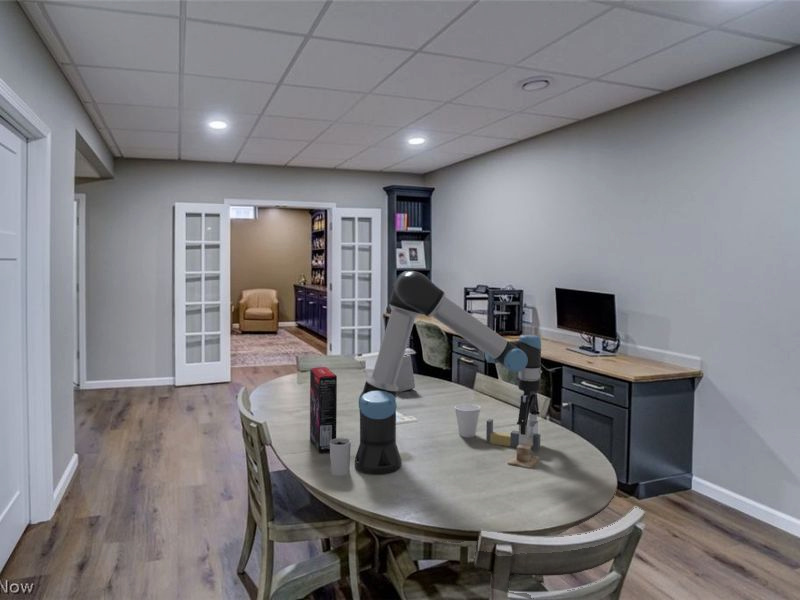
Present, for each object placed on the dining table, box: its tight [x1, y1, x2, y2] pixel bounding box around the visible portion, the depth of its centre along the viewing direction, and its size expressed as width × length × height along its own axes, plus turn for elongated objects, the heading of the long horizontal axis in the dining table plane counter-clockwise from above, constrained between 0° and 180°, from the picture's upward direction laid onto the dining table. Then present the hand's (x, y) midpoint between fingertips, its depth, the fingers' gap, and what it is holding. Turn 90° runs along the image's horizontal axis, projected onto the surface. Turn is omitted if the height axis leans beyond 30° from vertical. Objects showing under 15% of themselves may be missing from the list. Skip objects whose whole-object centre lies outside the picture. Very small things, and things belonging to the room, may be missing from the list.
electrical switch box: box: [396, 354, 416, 393], centre depth 285 cm, size 14×15×20 cm
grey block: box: [518, 419, 539, 446], centre depth 198 cm, size 5×7×7 cm
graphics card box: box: [309, 366, 338, 454], centre depth 199 cm, size 17×7×27 cm, turn 21°
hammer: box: [485, 418, 541, 452], centre depth 200 cm, size 19×3×8 cm, turn 63°
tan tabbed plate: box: [507, 444, 540, 469], centre depth 185 cm, size 8×10×5 cm
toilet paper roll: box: [329, 437, 352, 477], centre depth 175 cm, size 7×7×10 cm
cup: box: [454, 403, 482, 439], centre depth 211 cm, size 10×10×11 cm
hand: (528, 437), depth 198 cm, fingers open, 13 cm apart
